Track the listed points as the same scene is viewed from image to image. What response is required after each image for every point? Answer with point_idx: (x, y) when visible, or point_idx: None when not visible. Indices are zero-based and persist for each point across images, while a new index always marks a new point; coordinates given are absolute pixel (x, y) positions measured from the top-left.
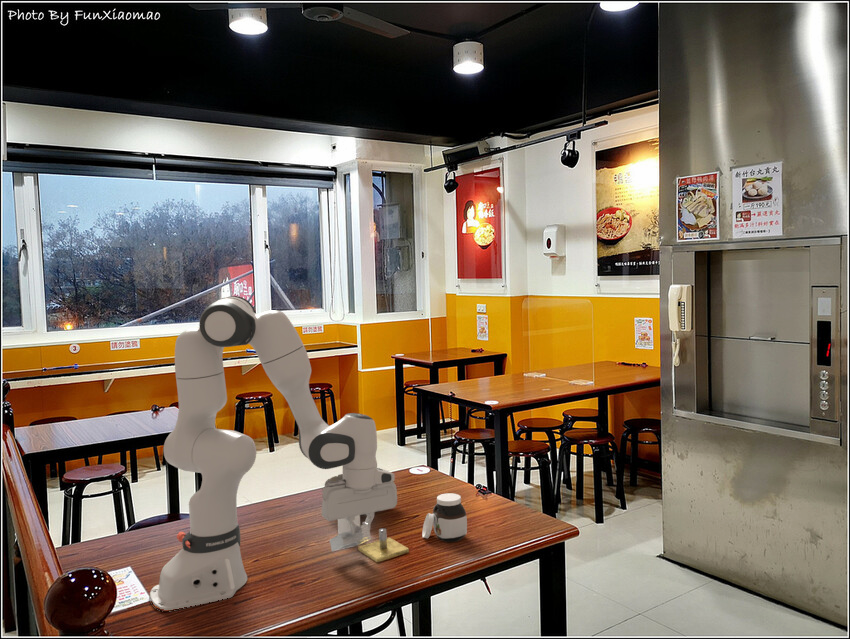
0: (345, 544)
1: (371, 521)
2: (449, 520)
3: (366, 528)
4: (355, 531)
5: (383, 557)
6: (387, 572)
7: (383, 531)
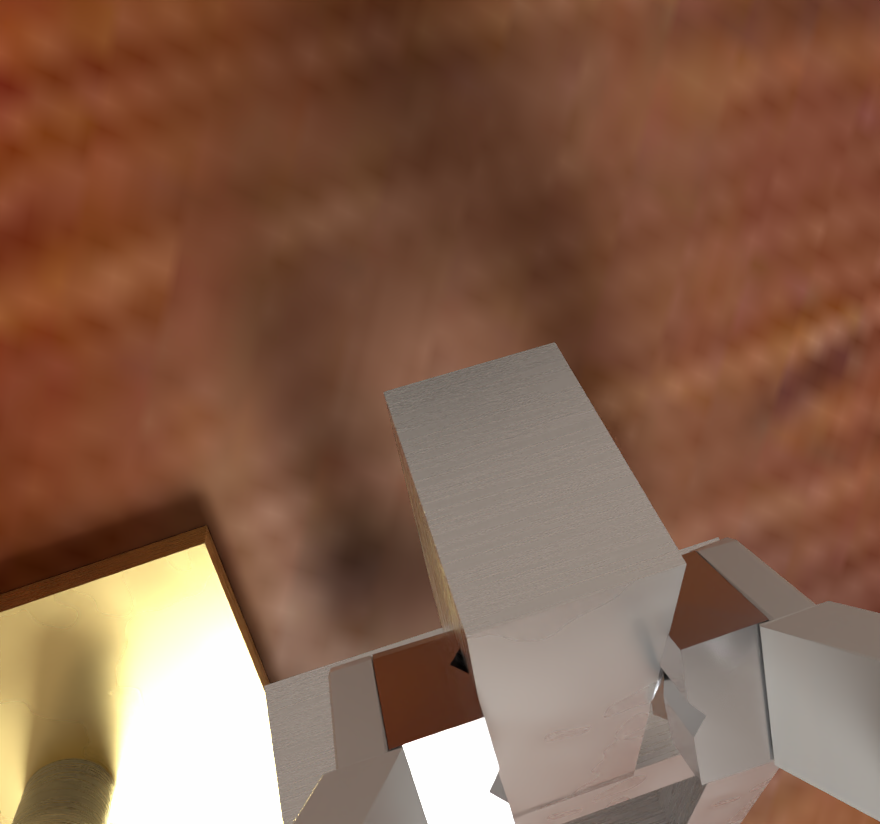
0: (691, 549)
1: (305, 811)
2: None
3: (495, 525)
4: (698, 559)
5: (115, 571)
6: (133, 245)
7: None
